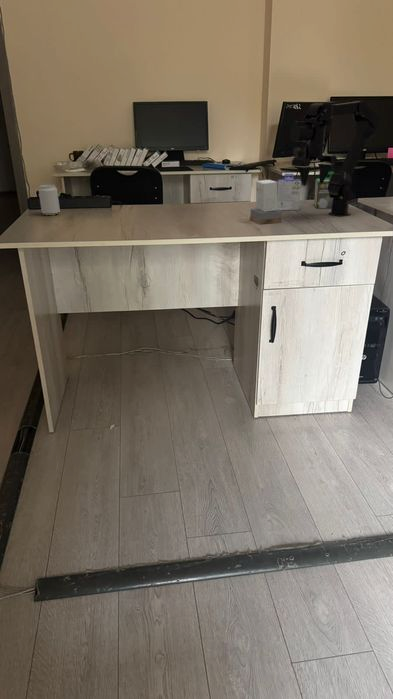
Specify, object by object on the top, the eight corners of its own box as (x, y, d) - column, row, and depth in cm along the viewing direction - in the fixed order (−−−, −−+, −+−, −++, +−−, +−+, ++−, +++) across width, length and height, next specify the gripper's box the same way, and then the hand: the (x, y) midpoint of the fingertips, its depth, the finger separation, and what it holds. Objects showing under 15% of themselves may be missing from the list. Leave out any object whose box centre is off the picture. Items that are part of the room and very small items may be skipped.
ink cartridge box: (298, 208, 221) (300, 173, 215) (299, 210, 216) (302, 174, 210) (275, 208, 222) (277, 173, 215) (276, 210, 217) (278, 175, 210)
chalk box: (334, 205, 227) (337, 170, 220) (337, 208, 219) (341, 172, 212) (313, 204, 228) (316, 170, 221) (315, 208, 220) (318, 172, 213)
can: (57, 216, 212) (53, 186, 207) (39, 216, 212) (35, 186, 207) (62, 212, 219) (58, 183, 214) (45, 213, 219) (40, 184, 214)
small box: (277, 210, 192) (277, 181, 188) (263, 212, 191) (263, 183, 186) (269, 207, 199) (269, 179, 195) (256, 208, 198) (255, 180, 193)
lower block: (270, 220, 203) (270, 213, 202) (281, 224, 195) (281, 217, 194) (250, 221, 200) (250, 215, 199) (259, 226, 193) (260, 219, 192)
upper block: (271, 213, 201) (271, 207, 200) (281, 217, 194) (282, 211, 193) (250, 215, 199) (250, 209, 198) (260, 219, 191) (260, 213, 190)
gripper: (317, 138, 199) (314, 180, 206) (282, 140, 189) (280, 184, 196) (339, 139, 191) (335, 183, 197) (304, 142, 181) (301, 187, 188)
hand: (312, 184), depth 195 cm, fingers open, 9 cm apart
